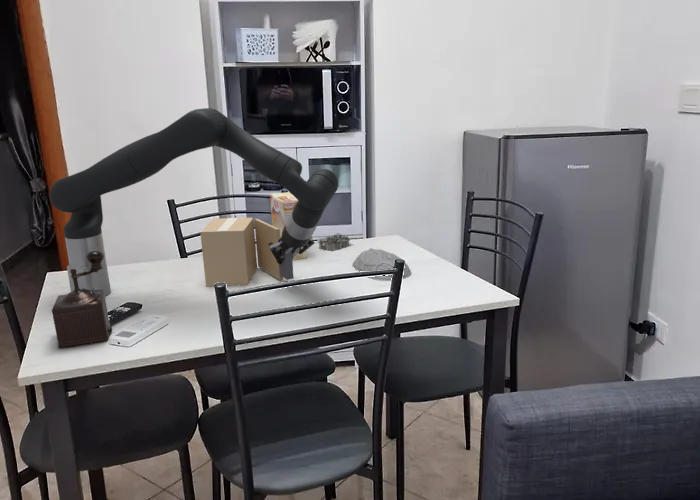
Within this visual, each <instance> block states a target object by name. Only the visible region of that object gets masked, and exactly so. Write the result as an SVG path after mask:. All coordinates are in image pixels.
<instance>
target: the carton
mask: <svg viewBox="0 0 700 500" xmlns="http://www.w3.org/2000/svg"><path fill="white" fill-rule="evenodd" d="M199 235H200V244H201V250H202V251H201V253H202V261H203V269H204V280H205V287H208V288H209V287H215V286H214V284H215V283H217V282H225V283H226V284H227V285H229V286H228V287H233V286H232V285H248V286H249V284H251V281H252V280H253V277H254V275H255V273H256V271H257V270H258V258H257V246H256V233H255V221H254V217H228V218H227V217H226V218H213V219H212V220H210V222H209V223H208V224H207V225H206V226H205V227H204V228H203V229H202V230H200V234H199Z"/></svg>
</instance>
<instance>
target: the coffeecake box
mask: <svg viewBox="0 0 700 500" xmlns="http://www.w3.org/2000/svg"><path fill="white" fill-rule="evenodd" d="M269 199H270V200H269V201H270V211H271V212H270V213H271V225H272V226H274V227H277V228H279V229H280V238H281V237H282V231H283V229H284V226H285V224H286V222H287V220H288V218H289V216H290V214H291V213H292V212H293V210H294V208H295V206H296V204H297V202H298V200H297V199H296V198H295V197H294V196H293V195H292V194H291V193H290V192H289V191H287V192H276V193H270V194H269ZM302 248H303V247H302ZM302 248H301V249H302ZM302 259H303V260H304V259H307V250H306V251H304V252H303V253H302V254H299V253H297V255H296V256H294V258H293V259H292V261H297V260H302Z"/></svg>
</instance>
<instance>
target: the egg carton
mask: <svg viewBox="0 0 700 500" xmlns="http://www.w3.org/2000/svg"><path fill="white" fill-rule="evenodd" d="M351 239H352V237H349V236H348V235H344V234H341V233H339V232H337V233H334V234H333V235H329V236H326V237H319V238H318V239H317V241H316V242H317V243H318V246H319V249H320V250H325V251H326V250H327V252H330V251H333V250H334V251H336V250H337V249H336V248H338V249H339V248H340V249H342V248H343V247H350V241H351ZM342 246H343V247H342Z"/></svg>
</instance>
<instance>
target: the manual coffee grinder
mask: <svg viewBox="0 0 700 500" xmlns="http://www.w3.org/2000/svg"><path fill="white" fill-rule="evenodd" d="M86 259H87V260H88V261H89V262H90V264H91V268H90V271H87V272H82V273H78V274H76V269H71V270H70V273H71V278H73V282H74V288H75V289H74V291H72V292H71V291H70V292H68V293H65V294H59V295H57V296H56V300H55V302H54V305H53V307H52V309H51V313H52V318H53V324H54V330H55V332H56V333H55V334H56V338H57V344H58V345H57V346H58V349H66V348H74V347H80V346H87V345H93V344H100V343H105V342H108V341H109V338H110V335H111V332H112V331H113V327H112V325H111V322H110V320H109V312H108V306H107V301H106V296H105V294H104V289H100V290H94V288H93V290H88V289H85V288H83V289H80V288H79V285H78V281H77V278H78V277H81V276H85V275H88V274H90V273H93V272H96V273H97V271H99V270H100V269H103V267H102V266H101V262H102V260H103V259H104V255H103V253H102V252H100V251H91V252H89V253H88V254H87V256H86Z"/></svg>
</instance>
